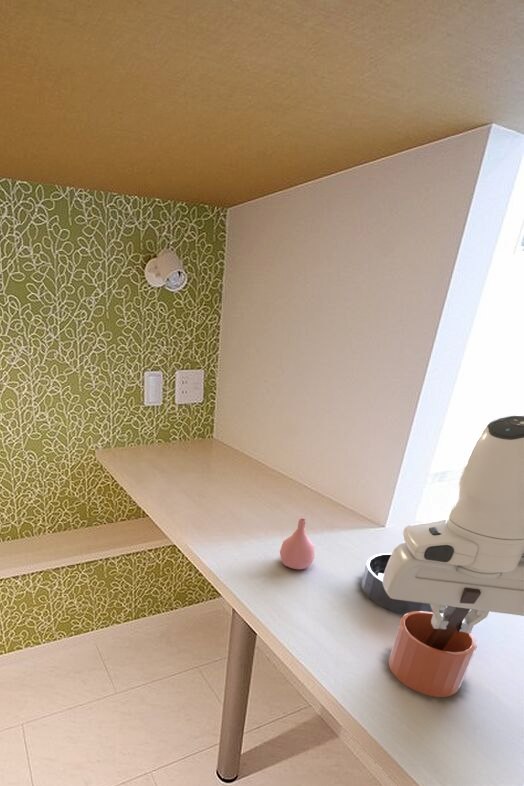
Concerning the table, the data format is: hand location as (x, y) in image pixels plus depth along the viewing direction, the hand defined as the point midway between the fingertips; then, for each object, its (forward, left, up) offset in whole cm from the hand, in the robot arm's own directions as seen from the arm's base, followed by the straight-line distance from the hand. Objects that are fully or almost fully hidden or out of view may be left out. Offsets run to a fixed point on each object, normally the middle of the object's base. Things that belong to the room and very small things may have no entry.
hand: (449, 628), depth 62 cm
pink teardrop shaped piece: (+19, -33, -12) cm, 40 cm away
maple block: (+2, -26, -11) cm, 29 cm away
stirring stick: (0, -4, -9) cm, 10 cm away
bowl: (-2, -26, -12) cm, 29 cm away
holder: (0, -3, -12) cm, 12 cm away
